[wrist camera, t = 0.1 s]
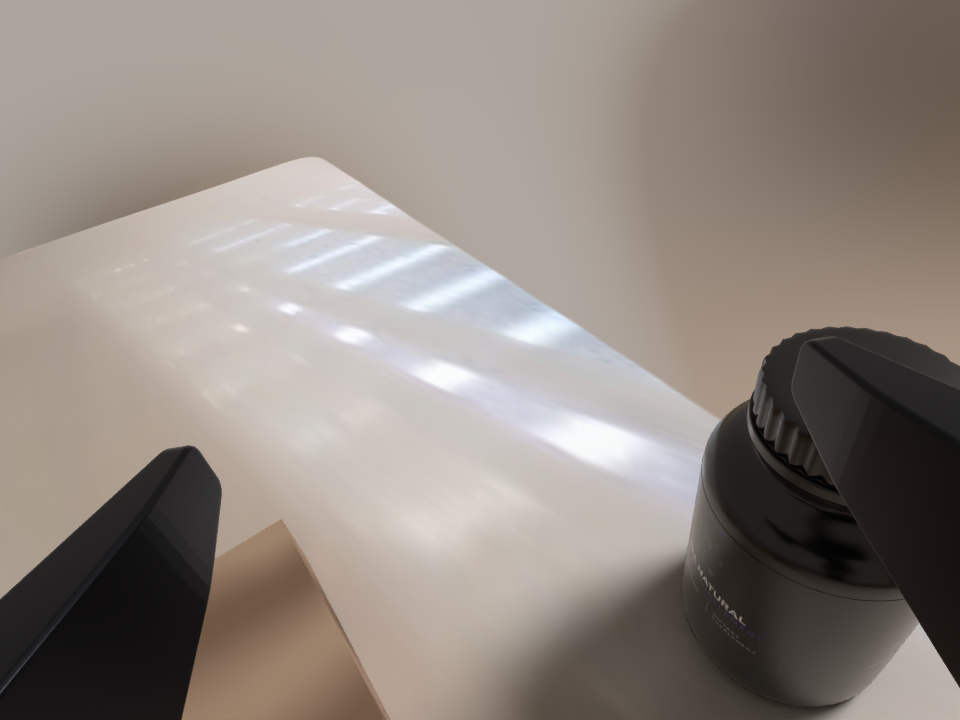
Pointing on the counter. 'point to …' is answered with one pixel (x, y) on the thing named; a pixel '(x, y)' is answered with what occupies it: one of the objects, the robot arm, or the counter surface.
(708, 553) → the supplement bottle
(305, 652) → the walnut ledge
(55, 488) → the counter surface
